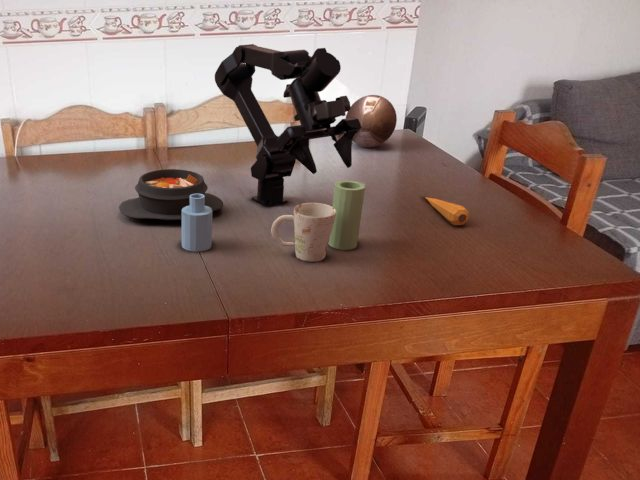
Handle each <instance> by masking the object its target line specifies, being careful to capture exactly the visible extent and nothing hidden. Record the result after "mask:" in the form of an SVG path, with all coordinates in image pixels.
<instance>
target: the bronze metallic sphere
mask: <svg viewBox="0 0 640 480" xmlns="http://www.w3.org/2000/svg"><path fill="white" fill-rule="evenodd" d="M350 107H351V108H350V110H349V111H347V112H346V115H345V119H346V118H353V117H355V118H358V119H359V121H360V124H361V127H362V128H361V129H360V130H359V131H358V133H357V134H356V135H355V136H354V137H353V139H352V143H355V144H356V145H358V146H360V147H363V148H374V147H378V146H381V145H382V144H384V143H385V142H387V141H388V140H389V139H390V138H391V136H392V135H393V133H395V129H396V127H397V121H398V117H397V112H396V109H395V107H394V105H393V104H392V102H390V101H389V99H387V98H386V97H384V96H381V95H378V94H368V95H365V96H362V97H359V98H358V99H357V100H355V101H354V102H353V103H352V104H351V105H350Z"/></svg>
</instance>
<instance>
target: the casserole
mask: <svg viewBox="0 0 640 480" xmlns="http://www.w3.org/2000/svg"><path fill="white" fill-rule="evenodd" d="M134 190H135V192H136V193H137V194H138V197H134V198H129V199H127V200H124V201H122V202H121V203H120V204H119V206H118V209H119V211H120V212H121V213H122V214H123V215H125V216H127V217H129V218H132V219H140V220H147V219H149V220H151V219H152V220H160V221H168V222H169V221H171V222H172V221H173V222H174V221H182V209H183V208H184V207H186V206H190V195H191V194H203V195H205V206H208V207H210V208H212V212H214V211H219V210H220V209H222V208H223V207H224V201H223V200H222V199H221V198H220V197H218V196H217V195H215V194H212V193H209V192H207V191H208V185H207V183H206V182H205V179H204V177H203V175H201V174H199V173H198V172H195V171H192V170H187V169H175V168H166V169H158V170H157V169H156V170H151V171H148V172H146V173H143V174H142V175H140V177H139V178H138V181H137V183H136V184H135V186H134Z"/></svg>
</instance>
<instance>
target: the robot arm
mask: <svg viewBox="0 0 640 480" xmlns="http://www.w3.org/2000/svg"><path fill="white" fill-rule="evenodd" d="M309 54H310V53H309V51H308V50H306V49H295V50H285V51H281V50H276V49H272V48H267V47H263V46H258V45H256V44H254V43H251V44H239V45H237V46H236V47H235V48H234V50H233V51H232V53H231V54H230V55H228V56H227V57H226V58H224V59H222V61H221V63H219V66H218V67H217V69H216V71H215V73H214V82H215V84H216V86H217V88H218V90H219V91H220V92H221V93H222V95H223V96H225V97H226V98H228V99H230V100H231V101H232V102H233V103H234V104H235V106H236V108H237V110H238V112H239V114H240V116H241V118H242V119H243V121H244V123H245V125H246V127H247V129H248V131H249V133H250V135H251V136H252V139H253V141H254V142H255V144H256V153H255V154H256V155H255V159H256V160H255V162H254V163H253V164H252V165H251V166H250V174H251V177H252V178H253V179H256V180H257V191H256V195H255V196H251V199H252V201H254V202H257V203H259V204H261V205H262V206H265V207H270V206H276V205H280V204H284V203H288V199H286V198H284V192H285V182H284V181H285V178H287V177H291V176H292V173H293V170H294V167H295V165H296V161H298V162H299V163H300V164H301V165H302V166H304V167H305V168H306V170H307V171H309V172H310V173H311V174H313V175H315V174H316V173H318V170H317V165H316V162H315V160H314V157H313V154H312V151H311V148H310V140H316V139H322V138H329V137H330V138H331V140H332V141H333V142H334V143H333V147H334V148H335V150H336V152H337V153H338V155H339V157H340V159H341V161H342V162H343V164H344V165H345V166H346V168H348V169H349V168H351V167H352V166H353V162H352V158H353V157H352V156H353V154H352V153H353V151H352V147H353V141H352V139H353V137H354V136H355V135H356V134H357V133H358V131H359V130H360V129H361V128H362V127H361V124H360V121H359V119H358V118H355V117H353V118H346V115H347V112H348V111H349V110H350V108H351V101H350V100H349V98H348V96H347V95H341V96H339V97H335V100H329V101H327V100H326V99H321V96H320V94H319V93H321V92H322V91H324V90H326V88H327V87H328V86H329V85H330V84H331V83H332V82H333V80H334V79H335V78H336V77H337V76H338V75H339V74H340V72H341V69H342V68H341V62H340V60H339V59H338V58H337V57H336V56H334V55H333V54H332V53H330V52H328V51H327V48H326V47H320V48H316V49H315V50H314V52H313V54H312V56H311V55H309ZM256 67H257V68H261V69H264V70H269V71H270V73H271V75H272V76H273V77H275V78H277V79H278V80H281V81H286V80H292V81H291V82H290V83H287V84H286V85H285V89H284V91H283V94H282V96H283V98H284V99H286V98H290V100H291V102H292V105H293V107H294V111H295V112H296V114H295V115H294V116H293V119H294V121H295V122H298V121H299V124H298V125H291V126H287V127H286V128H285V129H284V130H283V131H282V133H280V135H279V136H278V135H277V134H276V133H275V131H274V129H273V127H272V125H271V124H270V121H269V120H268V117H267V116H266V115H265V113H264V111H263V109H262V107H261V105H260V103H259V101H258V99H257V98H256V96H255V94H254V92H253V90H252V86H253V76H254V74H255V73H256ZM338 117H345V118H341V120H340V121H338V123H336V125H334V126H331V125H332V124H334V123H335V122H336V121H337V119H336V118H338Z"/></svg>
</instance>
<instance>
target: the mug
mask: <svg viewBox="0 0 640 480" xmlns="http://www.w3.org/2000/svg"><path fill="white" fill-rule="evenodd" d="M335 216H336V210H335V208H333V205H332V206H331V205H330V204H325V203H320V202H305V203H300V204H297V205H296V206H295V207H294V208H293V215H292V214H284V215H283V214H282V215H280V216H278V217H277V218H276V219H275V220H274V221H273V222H272V224H271V229H270V230H271V236H272V238H273V240H274V241H275V242H276V243H278V244H280V245H281V246H283V247H294V250H295V252H294V253H295V256H296V258H297V259H298V260H300V261H304V262H311V263H313V262H315V263H316V262H320V261H322V260H324V259H325V258H326V255H327V251H328V247H329V240H330V236H331V232H332V228H333V224H334V220H335ZM284 222H293V228H294V229H293V230H294V242H292V241H284V240H283V239H282V238H281V237H280V235H279V233H278V229H279V227H280V225H281V224H282V223H284Z"/></svg>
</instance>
